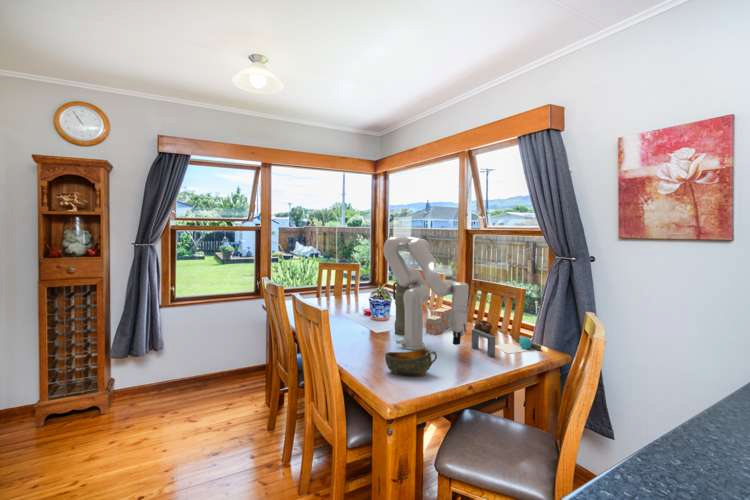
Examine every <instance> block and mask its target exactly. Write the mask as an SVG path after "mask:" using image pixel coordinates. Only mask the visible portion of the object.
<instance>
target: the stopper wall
mask: <svg viewBox="0 0 750 500" xmlns="http://www.w3.org/2000/svg"><path fill="white" fill-rule="evenodd" d="M521 338H522V337H519V336H518V337H517V336H516V338H515V343H517V344H519V341H520V339H521ZM531 343H532V344H531V347H530V348H529V349H532V350H534V351H537V352H541V351H542V345H540V344H538V343H536V342H532V341H531Z"/></svg>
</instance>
